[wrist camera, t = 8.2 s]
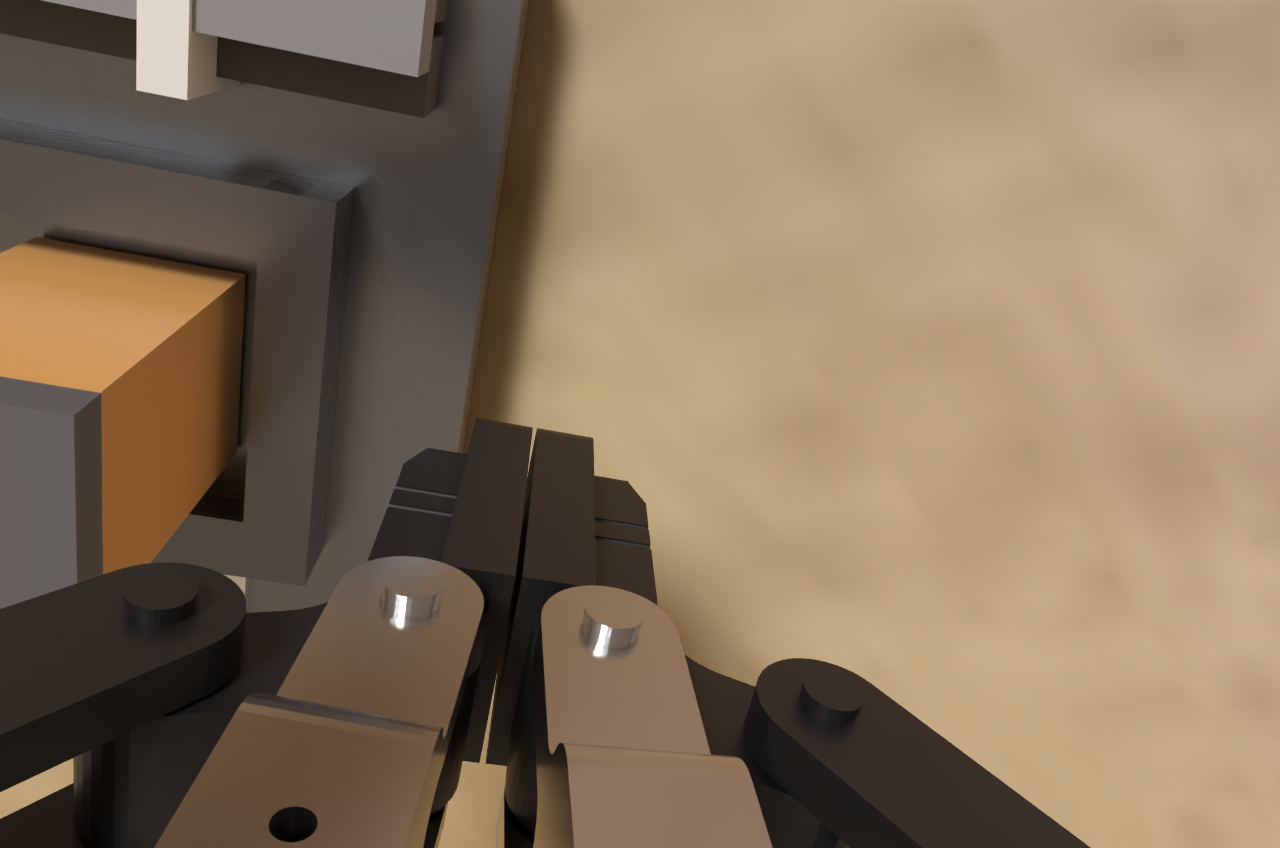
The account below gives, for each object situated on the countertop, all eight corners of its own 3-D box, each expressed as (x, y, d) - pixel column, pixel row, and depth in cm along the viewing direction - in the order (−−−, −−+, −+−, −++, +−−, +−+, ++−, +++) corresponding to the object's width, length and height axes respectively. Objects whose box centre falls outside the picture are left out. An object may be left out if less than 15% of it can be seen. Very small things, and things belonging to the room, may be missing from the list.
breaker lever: (252, 269, 15) (73, 414, 10) (243, 459, 16) (79, 675, 11) (29, 228, 15) (-277, 359, 10) (36, 425, 16) (-231, 634, 11)
